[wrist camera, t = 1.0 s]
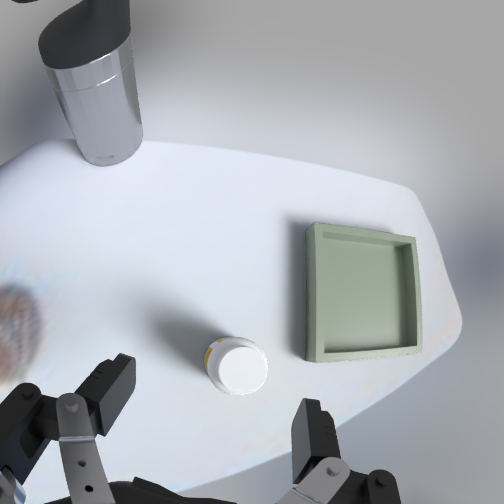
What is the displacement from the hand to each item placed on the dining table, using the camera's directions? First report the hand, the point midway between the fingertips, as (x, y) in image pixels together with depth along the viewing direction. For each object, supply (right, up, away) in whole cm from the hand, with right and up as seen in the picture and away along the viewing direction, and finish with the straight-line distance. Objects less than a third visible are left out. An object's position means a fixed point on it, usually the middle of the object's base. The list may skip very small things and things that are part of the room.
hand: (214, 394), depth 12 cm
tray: (+16, +1, +24) cm, 29 cm away
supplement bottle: (-1, -5, +19) cm, 20 cm away
